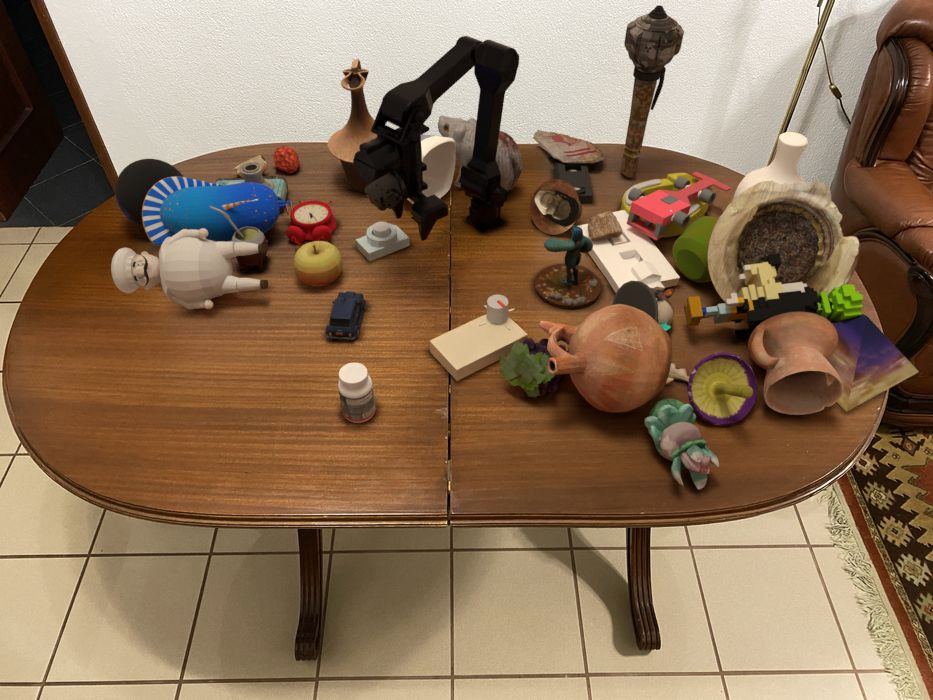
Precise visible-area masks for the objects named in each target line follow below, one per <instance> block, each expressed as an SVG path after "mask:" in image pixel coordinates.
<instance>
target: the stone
mask: <svg viewBox="0 0 933 700" xmlns="http://www.w3.org/2000/svg"><path fill="white" fill-rule="evenodd" d="M612 212H613V211H610V210H608V211H605V212H603V213H597V214H596V215H593V216H590V217H589V218H588V219H587V222H588V223H587V224H588V233H589V237H590V238H591V240H592V241H598V240H603V239H607V238H614V237H616V238H617V237H619V236H620V235H621V234H622V228H621V226H620V224H619V222H618V221H617V218H616V216H615V215H614V214H613V213H612Z"/></svg>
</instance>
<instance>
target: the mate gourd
mask: <svg viewBox="0 0 933 700" xmlns="http://www.w3.org/2000/svg"><path fill="white" fill-rule="evenodd" d="M210 208H212V209H214V210H216V211H218V212H220V213H221V214H223V216H224V217H225V218H226V219H227V220H228V221H229V222H230V224H231V225H232V226H233V227H234V229H235V230H236V232H235V233H234V235H233V237H232V240H231V242H247V243H254V244H266V247H267V251H266V253H256V254H252V255H245V256H236V257H235V258H236V260H237V262H238V264H239V265H240V267H241V268H240V270H241V272H243V273H245V272H247V271H248V270H250V269H252V268H256V269H257V270H258V271H260V272H262V273H263V272H264V271H265V267H264V266H263V262H265V261H267V260H268V256H267V253H268V248H269V247H268V246H269V245H268V242H267V241H266V240H267V238H266V236H265V233H262V232H261V231H260V230H258V229H257V228H255V227H243V228H240V229H237V227H236V226H235V225H234V223H233V222H232V220H231V219H230V218H229V216H228V214H227V213H225V212H223V211H222V210H220V209H217V208H215V207H212V206H210Z"/></svg>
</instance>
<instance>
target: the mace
mask: <svg viewBox="0 0 933 700" xmlns="http://www.w3.org/2000/svg"><path fill="white" fill-rule="evenodd" d="M684 35H685V30H684V29H683V26H681V24H679V22H678V21H677V20H675V19H674V18H672V17H671V16H670V15H668V13H667V11H666V10H665V8H664V6H663V5H661V4H659V5H656V6H655V7H654V8H653V9H651V11H649V12H648V13H646V14H643V15H641V16H637V17H636V18H635V19H634V20H632V21H630V22H629V23H627V25H626V29H625V36H624V37H625V38H624V43H623V44H624V48H625V50H626V51H627V54H628V58H629V59H630V61H631V62H632V64H633V66H634V68H633V72H632V76H633V78H634V80H633V88H632V97H631V103H630V112H629V119H628V124H627V131H626V137H625V143H624V149H623V152H622V159H621V165H620V173H621V174H622V175H624V176H625V177H627V178H633V177H636V176H637V173H638V167H639V163H640V159H641V154H642V153H641V150H642V147H643V142H644V138H645V133H646V129H647V125H648V124H647V122H648V118H649V115H650V110H651V111H653V110H654V109H655V106H656V104H657V101H658V100H659V97H660V94H661V92H662V89H663V86H664V82H665V75H666V65H668V64H670V63H671V62H672V60H673V59H674V57H675V56H677V55H678V54H679V53H680V51H681V49H682V44H683V40H684ZM658 80H659V81H658ZM657 83H658V84H657Z"/></svg>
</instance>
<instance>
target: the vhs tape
mask: <svg viewBox="0 0 933 700" xmlns="http://www.w3.org/2000/svg"><path fill="white" fill-rule="evenodd" d="M553 173H554V174H553V175H554V179H560V180H564V181H566V182H568V183H569V184H570V185H572V187H573V188H574V189H575V191H576V192H577V195H578V198H579V201H580V203H581V204H583V203H587V204H591V203H592V202H593V196H594V193H593V188H592V184H591V179H590V174H589V167H588V163H563V162H554V165H553Z"/></svg>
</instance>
